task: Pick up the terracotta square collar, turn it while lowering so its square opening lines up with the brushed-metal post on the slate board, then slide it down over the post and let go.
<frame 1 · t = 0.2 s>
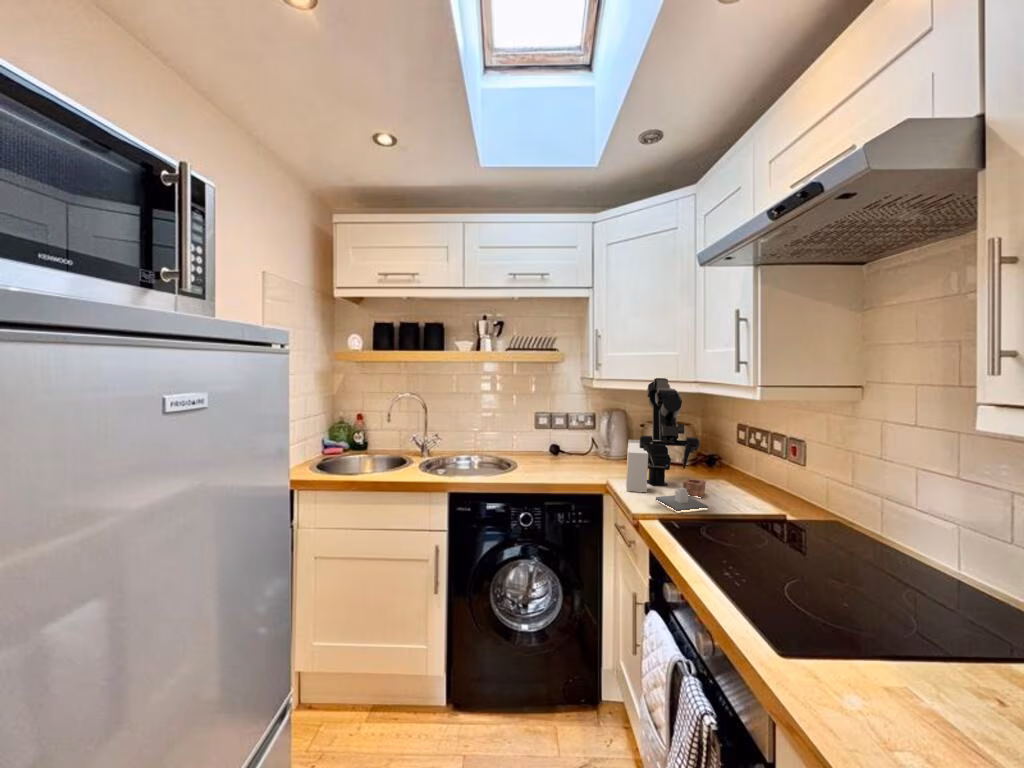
hand: (669, 467, 151), 15 cm above the countertop, tool tilted 30°, fingers open, 9 cm apart
key base: (681, 505, 157), on the countertop
milk carton: (635, 490, 174), on the countertop
collar: (693, 494, 169), on the countertop
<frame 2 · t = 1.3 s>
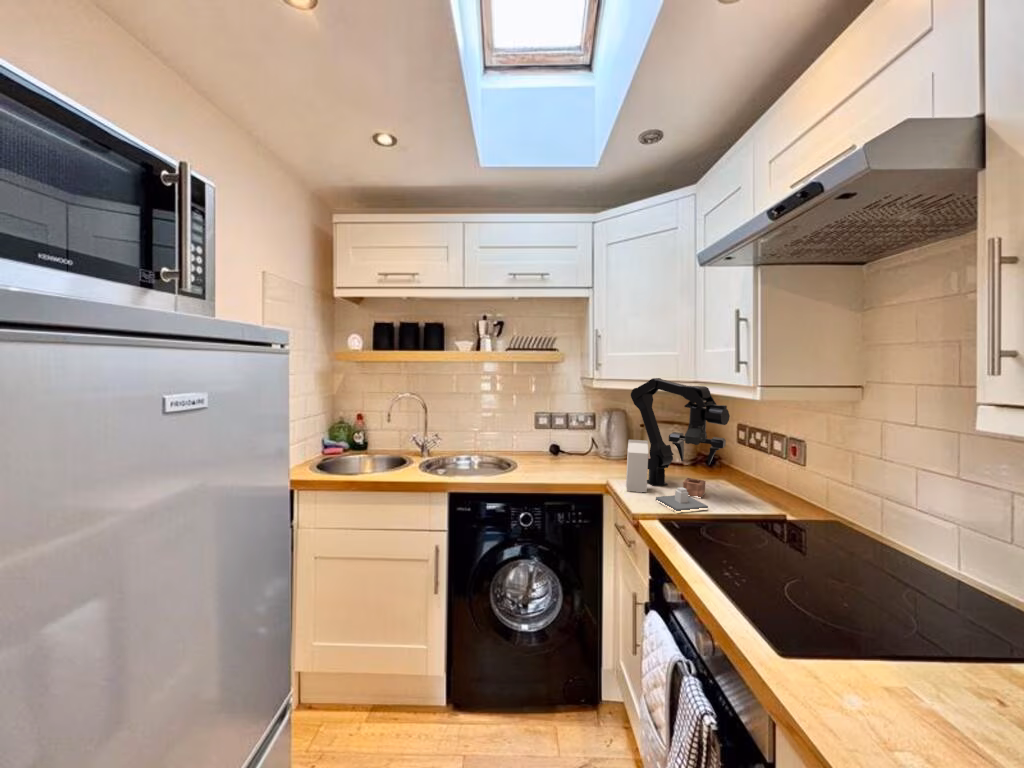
hand: (695, 463, 168), 12 cm above the countertop, tool pointing down, fingers open, 9 cm apart
nothing on the countertop moved.
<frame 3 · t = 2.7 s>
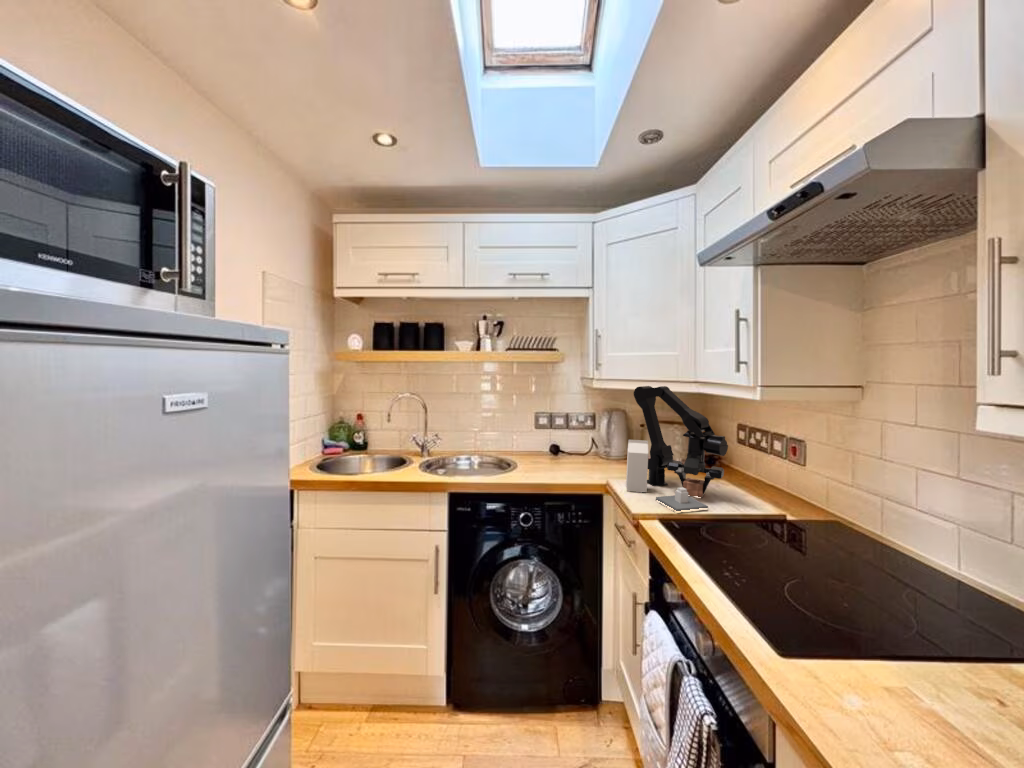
hand: (693, 491, 169), 1 cm above the countertop, tool pointing down, fingers closed on collar, 6 cm apart
collar: (693, 494, 169), on the countertop, touching gripper
everything else where it was.
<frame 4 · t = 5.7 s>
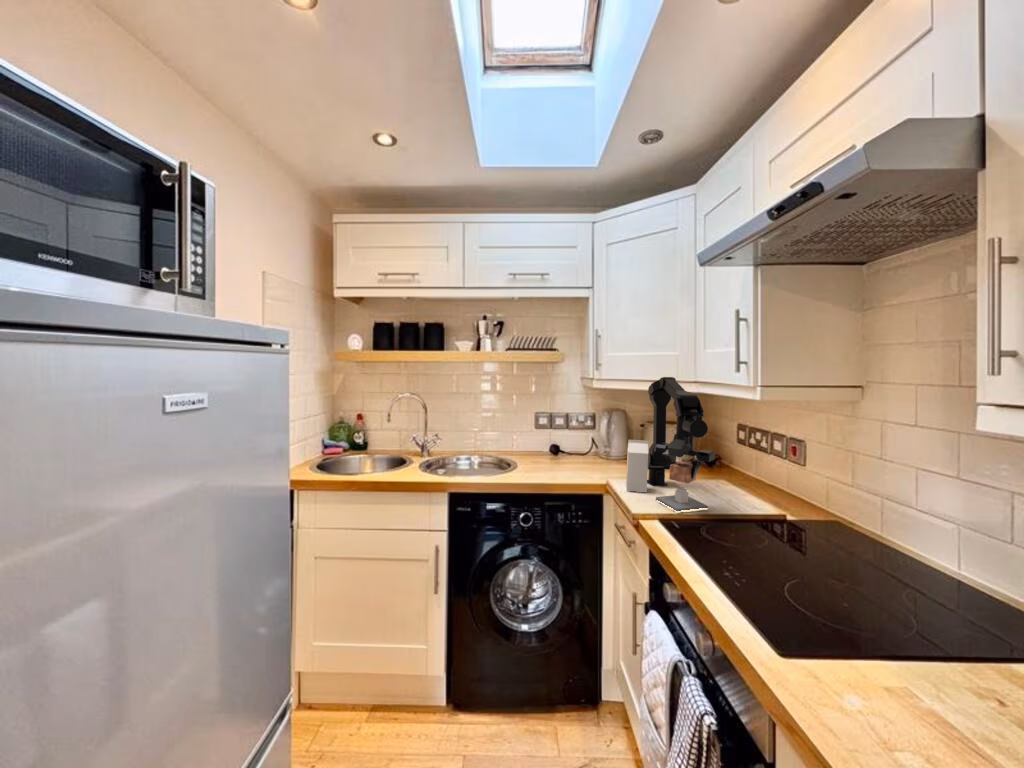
hand: (682, 476, 157), 10 cm above the countertop, tool pointing down, fingers closed on collar, 6 cm apart
collar: (682, 479, 157), point 9 cm above the countertop, touching gripper
everything else where it was.
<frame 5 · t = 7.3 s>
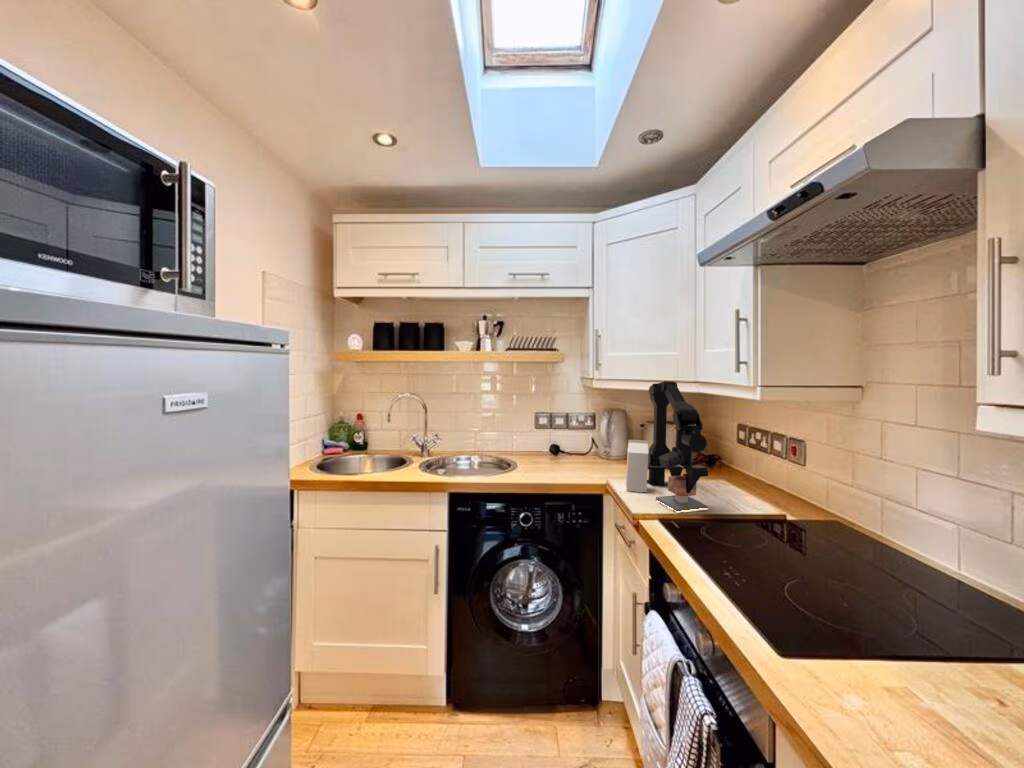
hand: (681, 489, 157), 6 cm above the countertop, tool pointing down, fingers closed on collar, 6 cm apart
collar: (681, 492, 157), point 5 cm above the countertop, touching gripper
everything else where it was.
when the fingers open (3 cm above the countertop, at t = 8.7 s): collar stays where it is, resting on key base.
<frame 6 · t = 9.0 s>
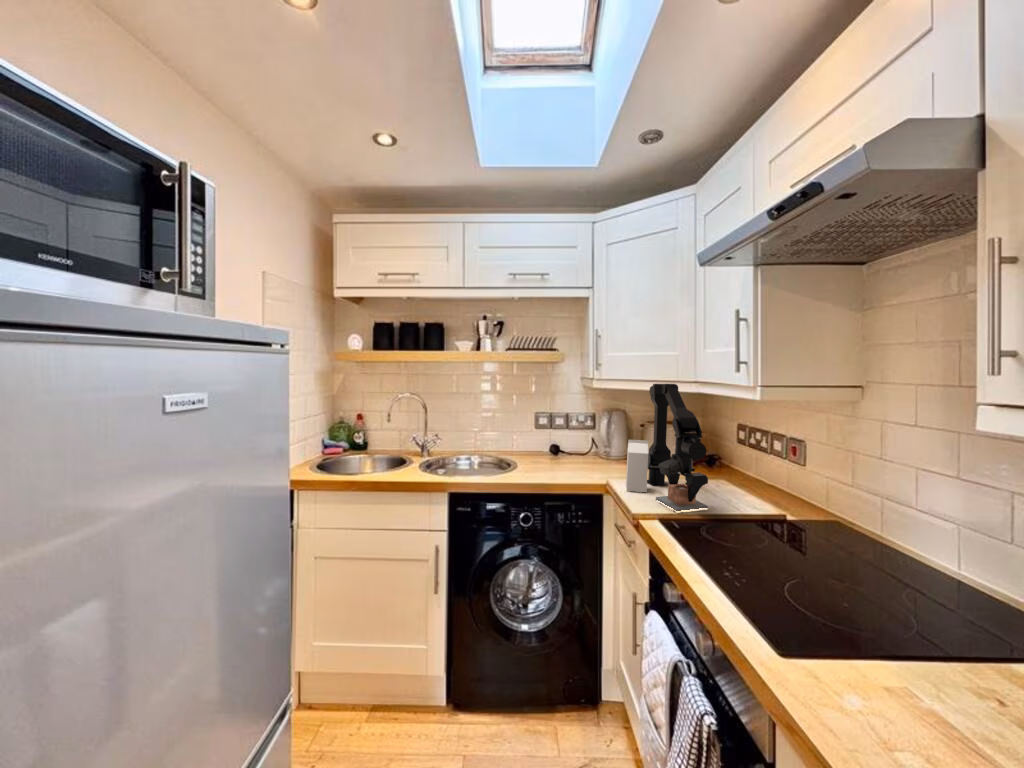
hand: (681, 497, 157), 3 cm above the countertop, tool pointing down, fingers open, 9 cm apart
collar: (681, 501, 157), point 1 cm above the countertop, touching key base
everything else where it was.
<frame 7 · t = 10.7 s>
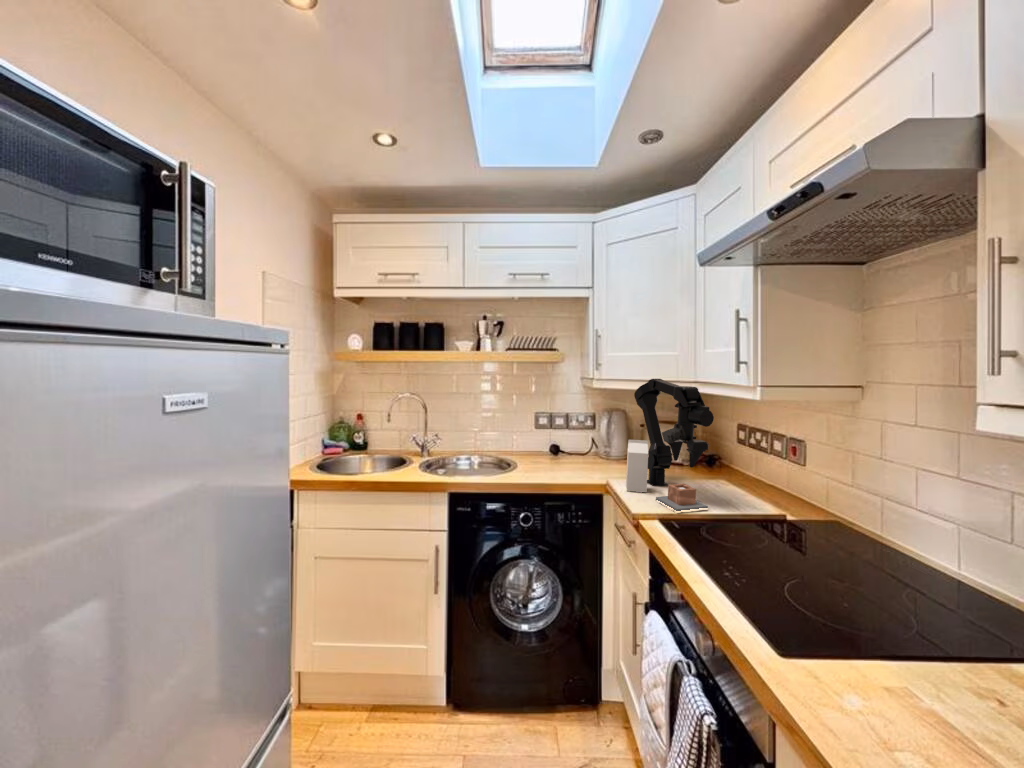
hand: (683, 463, 167), 12 cm above the countertop, tool pointing down, fingers open, 9 cm apart
nothing on the countertop moved.
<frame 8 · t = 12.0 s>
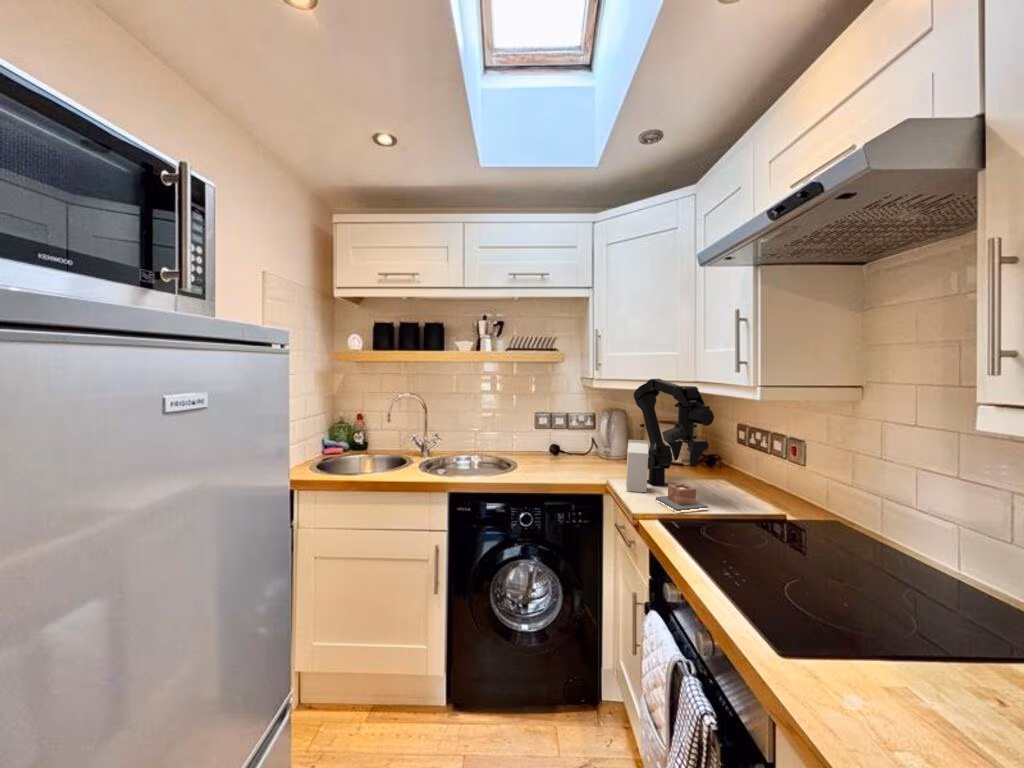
hand: (683, 463, 167), 12 cm above the countertop, tool pointing down, fingers open, 9 cm apart
nothing on the countertop moved.
at the end: collar 0.0 cm off-centre on the key base, point 1.5 cm above the key base's base; collar tilted 0°; the gripper is holding nothing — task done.
